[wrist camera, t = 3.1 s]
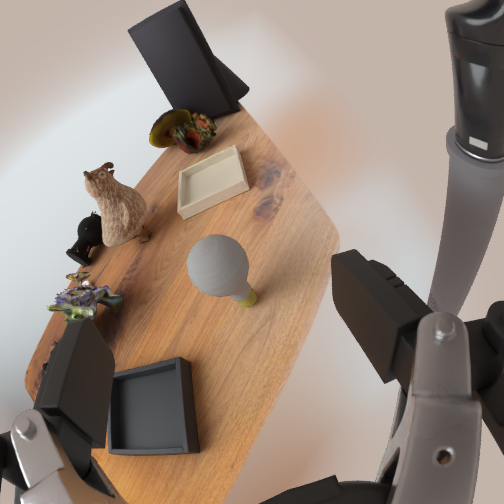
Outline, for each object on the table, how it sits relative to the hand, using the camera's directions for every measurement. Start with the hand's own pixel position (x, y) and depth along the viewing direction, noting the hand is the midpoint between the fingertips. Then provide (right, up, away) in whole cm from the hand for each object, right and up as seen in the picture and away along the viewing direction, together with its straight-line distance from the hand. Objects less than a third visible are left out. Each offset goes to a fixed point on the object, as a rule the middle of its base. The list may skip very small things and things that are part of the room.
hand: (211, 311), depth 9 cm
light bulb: (+1, -4, +23) cm, 23 cm away
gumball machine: (-32, 0, +39) cm, 50 cm away
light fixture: (-7, +39, +61) cm, 72 cm away
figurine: (-17, +4, +38) cm, 42 cm away
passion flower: (-20, -9, +30) cm, 37 cm away
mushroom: (-9, +20, +48) cm, 53 cm away
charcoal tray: (-10, -16, +19) cm, 26 cm away
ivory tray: (-5, +13, +39) cm, 41 cm away
